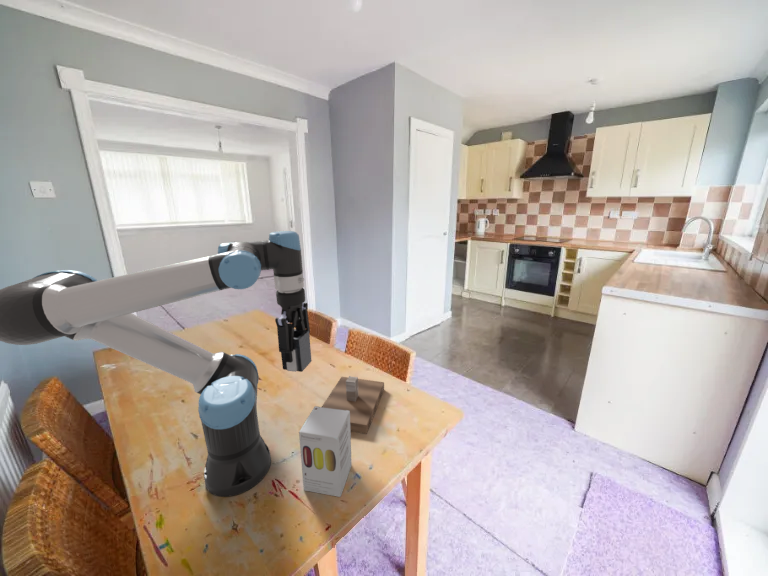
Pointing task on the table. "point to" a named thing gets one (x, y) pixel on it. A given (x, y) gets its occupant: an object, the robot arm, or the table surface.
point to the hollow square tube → (300, 350)
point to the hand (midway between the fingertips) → (298, 364)
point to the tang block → (356, 400)
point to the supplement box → (326, 450)
